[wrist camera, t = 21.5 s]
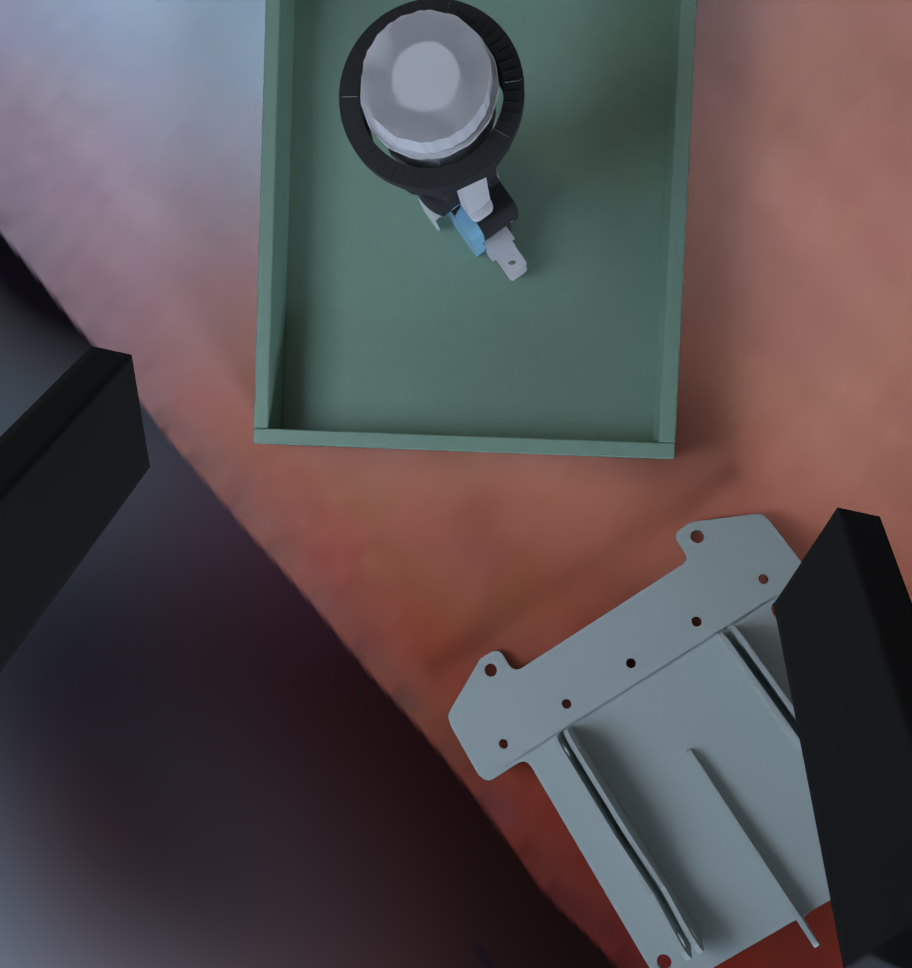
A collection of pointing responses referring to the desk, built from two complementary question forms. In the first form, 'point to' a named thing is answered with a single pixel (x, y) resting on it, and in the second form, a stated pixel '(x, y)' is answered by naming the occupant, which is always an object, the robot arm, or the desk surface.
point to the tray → (477, 280)
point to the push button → (440, 115)
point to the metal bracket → (672, 750)
